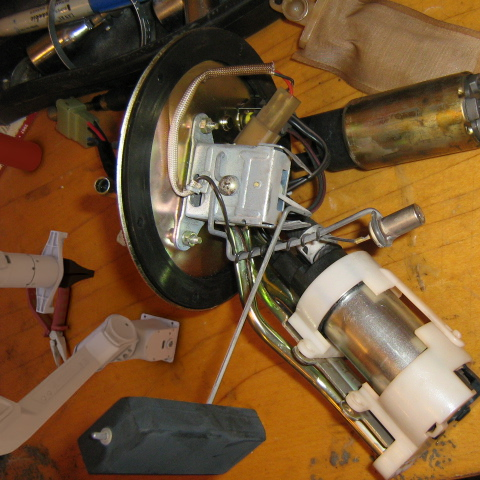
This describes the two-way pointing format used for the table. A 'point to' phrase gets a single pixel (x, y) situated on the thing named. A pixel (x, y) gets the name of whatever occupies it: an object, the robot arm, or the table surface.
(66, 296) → the pliers
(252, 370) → the table surface
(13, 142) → the red cylinder
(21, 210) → the table surface
